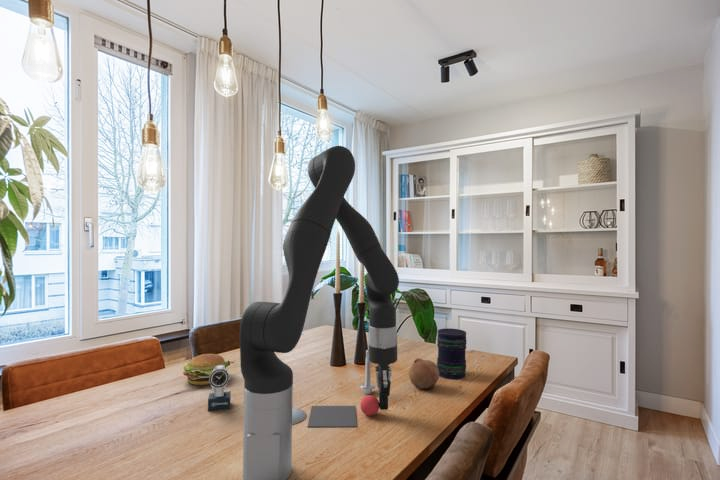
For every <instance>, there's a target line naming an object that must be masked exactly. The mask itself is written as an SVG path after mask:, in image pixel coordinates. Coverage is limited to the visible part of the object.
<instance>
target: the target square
mask: <svg viewBox="0 0 720 480" xmlns="http://www.w3.org/2000/svg"><path fill="white" fill-rule="evenodd" d="M357 427H358V426H357V410H356V405H312V406H311V408H310V413H309V418H308V422H307V428H357Z"/></svg>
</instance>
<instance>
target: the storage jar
mask: <svg viewBox="0 0 720 480" xmlns="http://www.w3.org/2000/svg"><path fill="white" fill-rule="evenodd" d="M436 339H437V344H436V346H437V351H438V352H437V358H436V359H437V362H436V366H437V367H438V370H439V378H443V379H445V380H451V381H453V380H458V381H459V380H463V379H465V378H466V376H467V374H466V372H467V360H466V350H467V331H466V330H462V329H458V328H439V329H438V330H437V338H436Z"/></svg>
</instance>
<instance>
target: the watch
mask: <svg viewBox="0 0 720 480" xmlns="http://www.w3.org/2000/svg"><path fill="white" fill-rule="evenodd" d="M231 377H232V376H230V375H229V372H228V370H227V367H226V368H225V365H220V366H216V367H215V368H214V370H213V372H212V374H211V375H210V378H209V381H210V384H209V385H210V387H211V389H212V392H210V393H208V394H209V395H208V398H207V412H212V411H222V410H230V409H231V396H232V395H231V394H232V393H231V391H225V390H226V388H227V385H228V383H229V380H231Z"/></svg>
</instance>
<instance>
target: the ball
mask: <svg viewBox="0 0 720 480" xmlns="http://www.w3.org/2000/svg"><path fill="white" fill-rule="evenodd" d="M359 405H360V409H361V412H362V413H363V414H364V415H366V416H369V417H370V416H374V415H376V414H377V413H378V412H379V410H380V407H379V398H377V397H376V396H375V395H373V394H372V395H371V394H366V395H365V396H363V397H362V399H361V401H360V404H359Z"/></svg>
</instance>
